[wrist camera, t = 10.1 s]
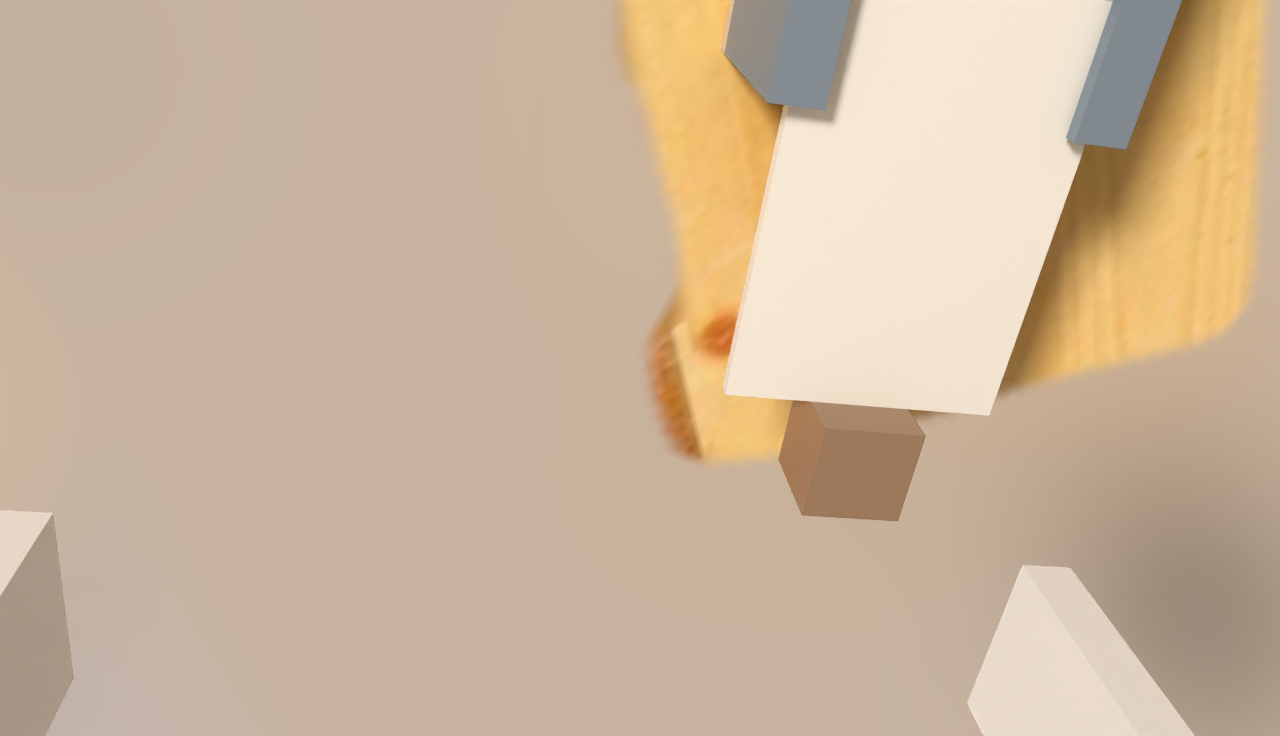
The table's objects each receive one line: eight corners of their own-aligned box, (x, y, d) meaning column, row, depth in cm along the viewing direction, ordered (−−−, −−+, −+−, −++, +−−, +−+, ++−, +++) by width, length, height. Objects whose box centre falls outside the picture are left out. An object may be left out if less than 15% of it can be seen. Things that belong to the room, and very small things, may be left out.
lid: (805, -52, 35) (839, -36, 31) (1104, -5, 37) (1168, 15, 33) (698, 453, 44) (715, 509, 40) (942, 470, 46) (979, 525, 42)
